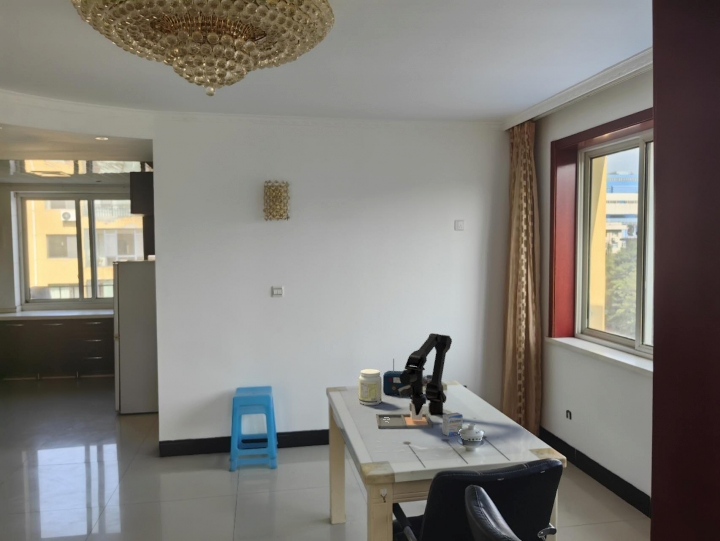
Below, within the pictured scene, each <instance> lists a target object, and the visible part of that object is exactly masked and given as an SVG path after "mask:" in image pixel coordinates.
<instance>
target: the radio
mask: <svg viewBox="0 0 720 541" xmlns="http://www.w3.org/2000/svg"><path fill="white" fill-rule="evenodd" d="M392 360H393V361H392V363H393V364H392V365H393V366H392V368H393V369H392V370H387V371H385V372H384V373H383V375H382V376H383V378H382V393H383V394H385V395H387V394H390V395H389V396H400V393H399V390H398V389H399V388H402V387H405V386H408V385H409V384H408V385H403V384H402V383H401V382H400V375H401V374H402V373H403V370H401V371H400V370H395V358H393V359H392ZM409 396H411V395H407V396H406V397H409Z"/></svg>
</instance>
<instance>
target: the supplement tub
mask: <svg viewBox="0 0 720 541" xmlns="http://www.w3.org/2000/svg"><path fill="white" fill-rule="evenodd" d="M382 390H383V378H382V376H381V371H380V370H379V369H376V368H375V369H374V368H366V369H365V368H364V369H361V370H360V376H359V377H358V402H359V403H360V404H362V405H363V404H364V406H377V405H380V404H381V402H382ZM379 403H380V404H379Z"/></svg>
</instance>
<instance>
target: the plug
mask: <svg viewBox="0 0 720 541" xmlns="http://www.w3.org/2000/svg"><path fill="white" fill-rule="evenodd" d="M411 401H412V400H411V399H410V402H409V411H410V414H411V416H410V417H411V420H422V414H423V407H422V408H421V410H420V412H419V415H416V413H415V407H414V404H412V402H411Z"/></svg>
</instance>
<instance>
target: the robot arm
mask: <svg viewBox="0 0 720 541" xmlns="http://www.w3.org/2000/svg"><path fill="white" fill-rule="evenodd" d="M452 340H453V339H452V338H451V336H450V335H448V334H439V333H430V334H429V335H428V337H427V338H426V340H425V341H424V343H422V344H421V346H420V347H419V348H418V349H417V350H414V351H413V352H412V353H410V354H409V355H408V358H407V361H406V363H405V365H404V369H403V370H402V371H403V373H402V374H401V375H400V382H401V383H402V384H403V385H408V384H409V385H408V386H405V387H402V388H399V389H398V390H399V393H400V395H399V396H400V398H404V397H407V396H406V395H411V396H408V398H409V399H410V403H411V402H412V404H414V407H415V413H416V415H419V412H420V410H421V408H422V409H423V406H424V405H426V404H427V401H428V407H427V408H428V413H429V414H430V415H431V416H443V415H445V414H444V404H445V403H446V401H447V399H448V398H447V395H446V394H445V392H444V386H443V383H442V380H443V373H444V367H445V362H446V361H445V360H446V356H447V353H448V352H449V350H450V349H451V345H452V343H453V341H452ZM433 349H435V357H434V362H433V367H432V368H433V369H432V375H431V380H430V381H429V382H426V387H425V390H423V389H424V388H423V387H424V382H423V381H424V380H423V379H424V378H423V377H424V371H425V370H426V369H425V365H426V364H427V361H428V360H427V359H428V358H427V357H428V355H430V353H431V352H432V350H433ZM424 391H425V393H424ZM424 394H425V396H424ZM411 400H412V401H411Z"/></svg>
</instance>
